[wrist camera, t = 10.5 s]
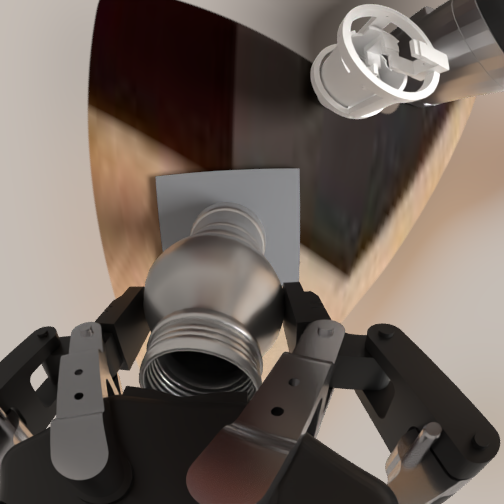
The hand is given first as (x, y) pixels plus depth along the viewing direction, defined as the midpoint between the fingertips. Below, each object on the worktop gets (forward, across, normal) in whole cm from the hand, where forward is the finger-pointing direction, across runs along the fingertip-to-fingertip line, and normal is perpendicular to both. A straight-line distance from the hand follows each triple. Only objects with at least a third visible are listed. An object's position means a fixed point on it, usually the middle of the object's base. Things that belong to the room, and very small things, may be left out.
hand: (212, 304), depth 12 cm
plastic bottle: (+14, 0, 0) cm, 14 cm away
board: (+16, 0, 0) cm, 16 cm away
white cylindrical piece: (+17, -11, -14) cm, 24 cm away
